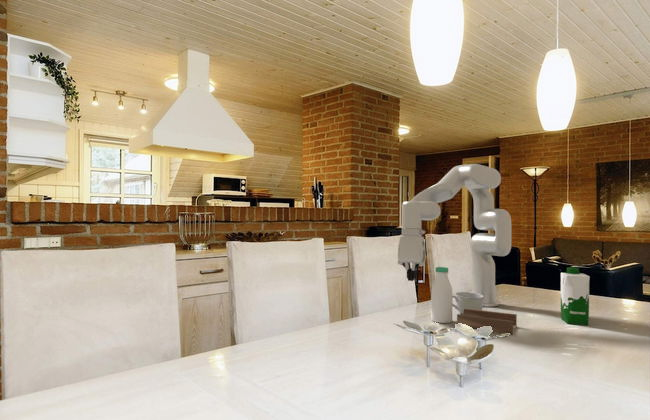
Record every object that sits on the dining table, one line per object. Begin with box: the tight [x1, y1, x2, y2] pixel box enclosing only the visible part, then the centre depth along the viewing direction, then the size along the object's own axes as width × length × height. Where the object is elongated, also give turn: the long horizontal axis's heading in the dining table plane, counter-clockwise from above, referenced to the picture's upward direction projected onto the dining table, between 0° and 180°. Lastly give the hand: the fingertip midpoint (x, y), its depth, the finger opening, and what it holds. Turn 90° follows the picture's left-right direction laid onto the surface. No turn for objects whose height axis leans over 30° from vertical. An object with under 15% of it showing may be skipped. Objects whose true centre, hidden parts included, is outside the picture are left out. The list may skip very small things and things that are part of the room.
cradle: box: [456, 308, 518, 336], centre depth 150 cm, size 12×18×4 cm
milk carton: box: [560, 266, 591, 326], centre depth 158 cm, size 9×9×20 cm
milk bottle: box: [430, 266, 453, 324], centre depth 158 cm, size 8×8×20 cm
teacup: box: [452, 291, 484, 315], centre depth 170 cm, size 14×11×8 cm
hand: (411, 280), depth 164 cm, fingers closed
